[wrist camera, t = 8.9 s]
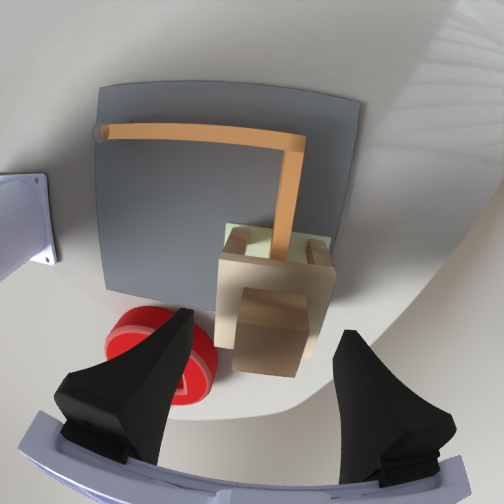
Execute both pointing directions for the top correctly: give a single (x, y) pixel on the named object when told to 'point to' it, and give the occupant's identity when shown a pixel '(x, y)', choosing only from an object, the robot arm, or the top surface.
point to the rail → (233, 135)
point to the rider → (271, 306)
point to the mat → (209, 180)
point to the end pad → (262, 240)
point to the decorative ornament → (200, 361)
